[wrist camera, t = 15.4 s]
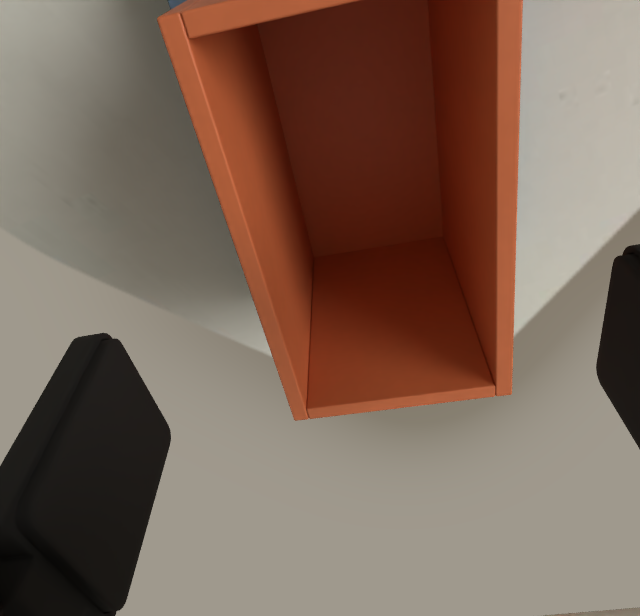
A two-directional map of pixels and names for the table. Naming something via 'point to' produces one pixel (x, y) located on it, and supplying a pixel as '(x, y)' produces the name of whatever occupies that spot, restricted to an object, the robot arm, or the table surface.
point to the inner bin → (365, 187)
